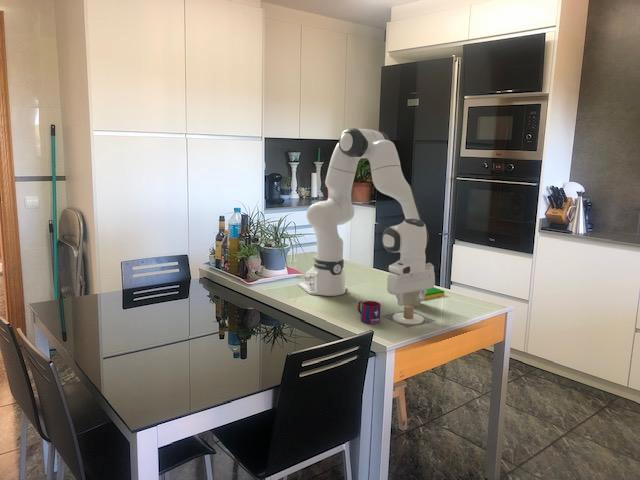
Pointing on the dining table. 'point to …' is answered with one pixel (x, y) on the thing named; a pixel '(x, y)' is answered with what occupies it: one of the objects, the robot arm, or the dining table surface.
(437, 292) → the dish sponge
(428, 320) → the drying mat
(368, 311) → the cup
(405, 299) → the travel mug
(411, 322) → the cover lid
